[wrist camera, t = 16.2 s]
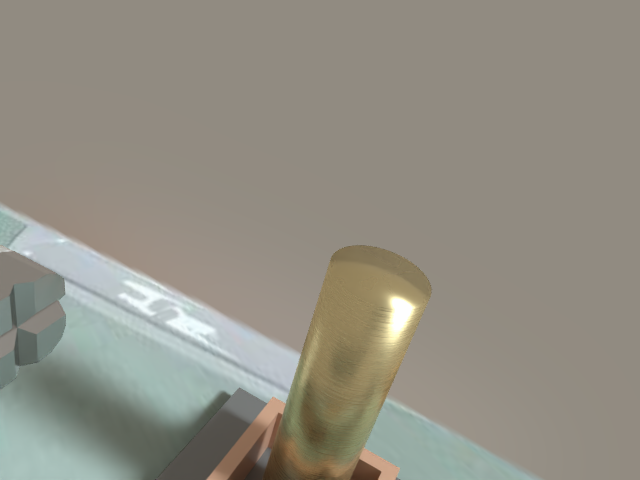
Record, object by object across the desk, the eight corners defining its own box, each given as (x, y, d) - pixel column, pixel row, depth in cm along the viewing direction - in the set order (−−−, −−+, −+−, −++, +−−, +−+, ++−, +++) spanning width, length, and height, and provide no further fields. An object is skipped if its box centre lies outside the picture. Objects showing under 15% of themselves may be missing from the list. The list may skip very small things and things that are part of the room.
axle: (338, 547, 28) (451, 305, 20) (265, 568, 27) (357, 312, 19) (310, 478, 31) (399, 244, 23) (242, 493, 30) (314, 245, 22)
